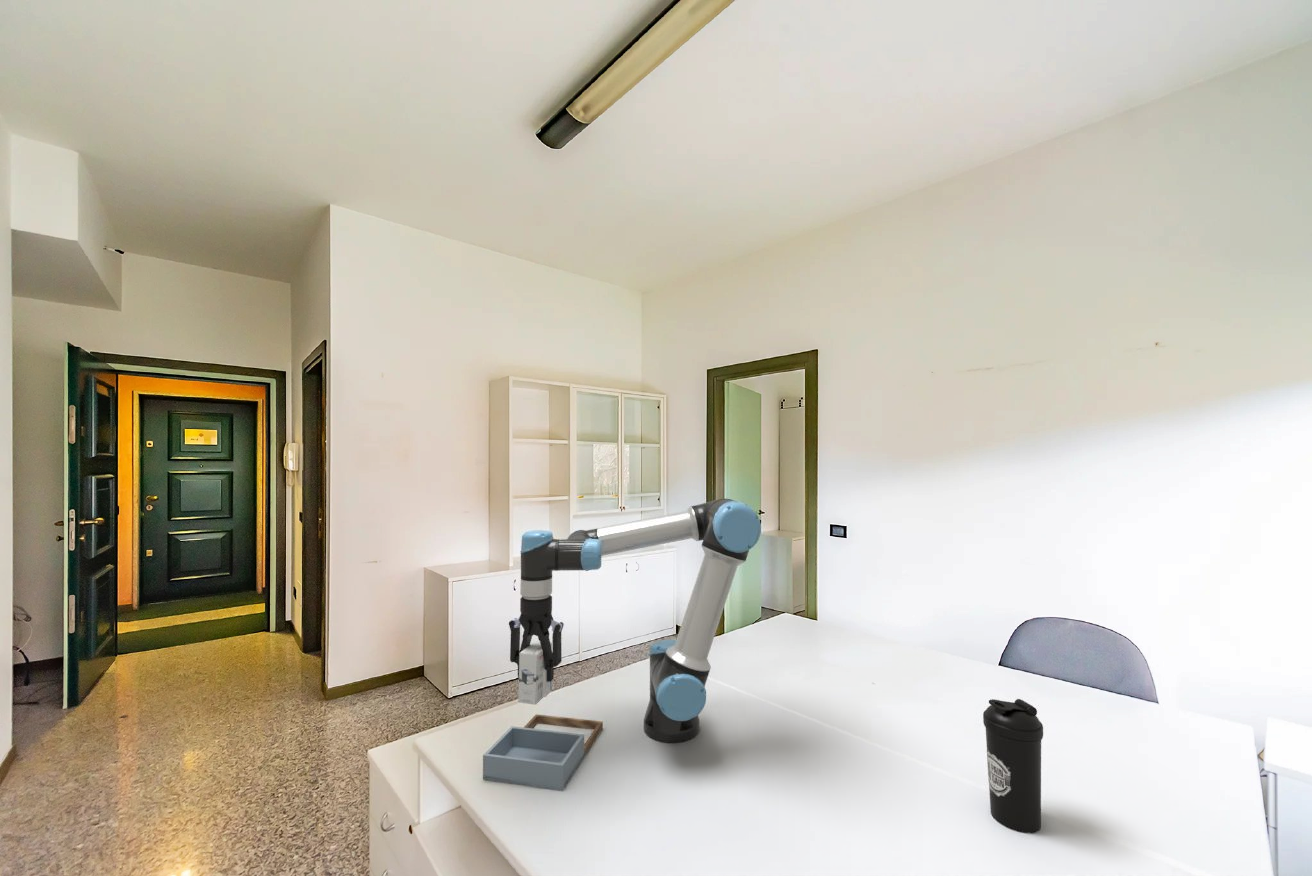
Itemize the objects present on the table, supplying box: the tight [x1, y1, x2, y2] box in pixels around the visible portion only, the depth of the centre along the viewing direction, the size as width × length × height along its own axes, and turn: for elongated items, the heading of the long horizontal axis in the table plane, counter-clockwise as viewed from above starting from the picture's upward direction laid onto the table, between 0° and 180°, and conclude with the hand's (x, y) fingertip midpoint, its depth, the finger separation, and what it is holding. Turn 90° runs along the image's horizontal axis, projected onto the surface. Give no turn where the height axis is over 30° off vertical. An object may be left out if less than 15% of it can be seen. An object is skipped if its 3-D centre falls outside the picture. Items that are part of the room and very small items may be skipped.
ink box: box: [517, 640, 553, 706], centre depth 130 cm, size 9×5×12 cm, turn 166°
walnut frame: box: [523, 713, 604, 757], centre depth 142 cm, size 20×14×2 cm
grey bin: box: [482, 725, 586, 792], centre depth 128 cm, size 20×14×6 cm
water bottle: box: [982, 698, 1044, 834], centre depth 109 cm, size 10×10×23 cm
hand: (535, 693), depth 130 cm, fingers closed on ink box, 5 cm apart
